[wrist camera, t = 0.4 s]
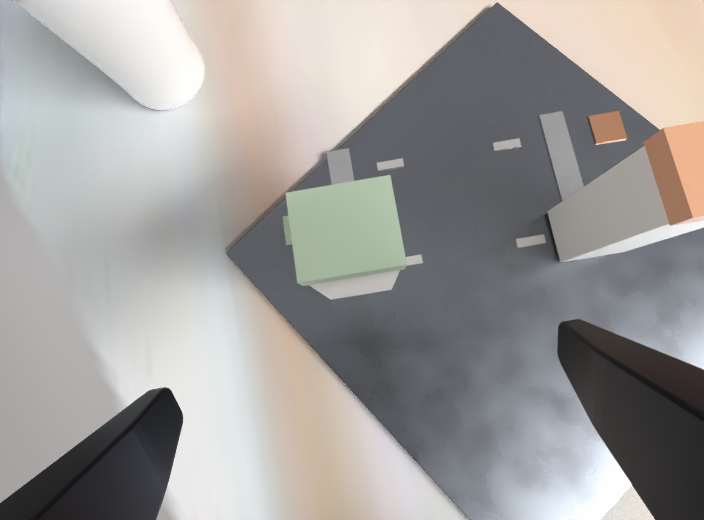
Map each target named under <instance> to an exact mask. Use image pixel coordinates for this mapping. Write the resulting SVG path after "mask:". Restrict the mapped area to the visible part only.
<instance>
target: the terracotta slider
mask: <svg viewBox="0 0 704 520" xmlns="http://www.w3.org/2000/svg"><path fill="white" fill-rule="evenodd" d="M643 143H644V146H643V147H642V148H640V149H639V150H638V151H636V152H635V153H633V154H632V155H630V156H629V157H627V158H626V159H624V160H623V161H621V162H620V163H618V164H617V165H615V166H614V167H612V168H611V169H609V170H608V171H607V172H605V173H604V174H602V175H601V176H599V177H598V178H596V179H595V180H593V181H592V182H590V183H589V184H587V185H586V186H584V187H583V188H581V189H580V190H578V191H577V192H576V193H574V194H573V195H571V196H570V197H568V198H567V199H565V200H564V201H562V202H561V203H559V204H558V205H556V206H555V207H553V208H552V209H550V210H549V211H547V213H548V217H549V221H550V224H551V228H552V232H553V236H554V240H555V244H556V247H557V251H558V255H559V259H560V262H566V261H573V260H579V259H585V258H591V257H597V256H603V255H609V254H616V253H622V252H626V251H629V250H632V249H635V248H639V247H642V246H645V245H648V244H652V243H655V242H658V241H661V240H665V239H668V238H671V237H674V236H678V235H681V234H684V233H688V232H691V231H694V230H697V229H701V228H704V121H702V122H696V123H690V124H685V125H679V126H673V127H667V128H663V129H661V130H660V131H659V132H657V133H656V134H654V135H653V136H651V137H650V138H649V139H647V140H646V141H644V142H643Z"/></svg>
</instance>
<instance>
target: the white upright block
mask: <svg viewBox="0 0 704 520" xmlns="http://www.w3.org/2000/svg"><path fill="white" fill-rule="evenodd" d="M286 201H287V209H288V216H289V224H290V231H291V239H292V246H293V254H294V261H295V269H296V277H297V283H298V284H300V285H302V286H306V285H309V286H311V287H312V288H314V289H315V290H317V291H318V292H320V293H321V294H323V295H324V296H326V297H327V298H329V299H330V300H332V299H339V298H345V297H351V296H357V295H363V294H369V293H375V292H382V291H388V290H392V288H393V285H394V283H395V281H396V278H397V276H398V274H399V272H400V270H404V269H405V268H406V266H407V262H406V257H405V251H404V246H403V240H402V235H401V230H400V224H399V219H398V214H397V208H396V203H395V197H394V192H393V187H392V181H391V176H390V175H386V176H380V177H375V178H369V179H363V180H357V181H351V182H345V183H340V184H334V185H328V186H322V187H316V188H310V189H305V190H299V191H293V192H287V193H286Z"/></svg>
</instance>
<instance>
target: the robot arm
mask: <svg viewBox="0 0 704 520" xmlns="http://www.w3.org/2000/svg"><path fill="white" fill-rule="evenodd" d="M557 354H558V358H559V361H560V364H561V366H562V368H563V369H564V371H565V373H566V375H567V377H568V379H569V381H570V383H571V385H572V387H573V389H574V391H575V392H576V394H577V396H578V398H579V400H580V402H581V404H582V406H583V408H584V410H585V412H586V414H587V416H588V417H589V419H590V421H591V423H592V425H593V426H594V428H595V429H596V431H597V433H598V434H599V436H600V437H601V439H602V440H603V442H604V443H605V445H606V446H607V448H608V449H609V451H610V452H611V454H612V455H613V457H614V458H615V460H616V461H617V463H618V464H619V466H620V467H621V469H622V470H623V472H624V473H625V475H626V476H627V478H628V479H629V481H630V482H631V484H632V485H633V487H634V488H635V490H636V491H637V493H638V495H639V496H640V498H641V499H642V501H643V502H644V504H645V505H646V507H647V508H648V510H649V511H650V513H651V514H652V516H653V517H654V519H655V520H704V369H702V368H699V367H697V366H694V365H692V364H689V363H687V362H684V361H682V360H680V359H677V358H675V357H672V356H670V355H667V354H665V353H662V352H660V351H657V350H655V349H652V348H650V347H648V346H645V345H643V344H640V343H638V342H635V341H633V340H630V339H628V338H625V337H623V336H620V335H618V334H615V333H613V332H611V331H608V330H606V329H603V328H601V327H598V326H596V325H593V324H591V323H588V322H586V321H583V320H581V319H574V320H568V321H563V322H561V323H560V324H559V326H558V344H557ZM182 424H183V414H182V411H181V409H180V407H179V405H178V403H177V401H176V399H175V397H174V395H173V393H172V391H171V390H170V389H169V388H166V387H164V388H158V389H152V390H149V391H148V392H146V393H145V394H144V395H142V396H141V397H140V398H138V399H137V400H136V401H134V402H133V403H132V404H130V405H129V406H128V407H126V408H125V409H124V410H122V411H121V412H120V413H119V414H117V415H116V416H115V417H113V418H112V419H111V420H109V421H108V422H107V423H105V424H104V425H103V426H101V427H100V428H99V429H97V430H96V431H95V432H94V433H92V434H91V435H90V436H88V437H87V438H86V439H84V440H83V441H82V442H80V443H79V444H78V445H76V446H75V447H74V448H72V449H71V450H70V451H69V452H67V453H66V454H64V455H63V456H62V457H61V458H59V459H58V460H57V461H55V462H54V463H53V464H51V465H50V466H49V467H47V468H46V469H45V470H43V471H42V472H41V473H39V474H38V475H37V476H35V477H34V478H33V479H32V480H30V481H29V482H28V483H27V484H25V485H24V486H22V487H21V488H20V489H18V490H17V491H16V492H14V493H13V494H12V495H11V496H9V497H8V498H7V499H5V500H4V501H2V502H1V503H0V520H156V518H157V515H158V512H159V510H160V507H161V504H162V501H163V498H164V495H165V492H166V489H167V485H168V481H169V478H170V474H171V470H172V465H173V461H174V457H175V453H176V449H177V445H178V441H179V436H180V432H181V428H182Z"/></svg>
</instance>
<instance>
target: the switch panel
mask: <svg viewBox="0 0 704 520" xmlns="http://www.w3.org/2000/svg"><path fill="white" fill-rule="evenodd" d="M659 131H660V130H659V129H658V128H657V127H655V126H654V125H653V124H651V123H650V122H649V121H648V120H646V119H645V118H644V117H643V116H641V115H640V114H639V113H637V112H636V111H635V110H634V109H632V108H631V107H630V106H629V105H627V104H626V103H625V102H623V101H622V100H621V99H620V98H618V97H617V96H616V95H615V94H613V93H612V92H611V91H609V90H608V89H607V88H606V87H604V86H603V85H602V84H601V83H599V82H598V81H597V80H595V79H594V78H593V77H592V76H590V75H589V74H588V73H587V72H585V71H584V70H583V69H581V68H580V67H579V66H578V65H576V64H575V63H574V62H573V61H571V60H570V59H569V58H567V57H566V56H565V55H564V54H562V53H561V52H560V51H559V50H557V49H556V48H555V47H553V46H552V45H551V44H550V43H548V42H547V41H546V40H544V39H543V38H542V37H541V36H539V35H538V34H537V33H536V32H534V31H533V30H532V29H530V28H529V27H528V26H527V25H525V24H524V23H523V22H522V21H520V20H519V19H518V18H516V17H515V16H514V15H513V14H511V13H510V12H509V11H508V10H506V9H505V8H504V7H502V6H501V5H500V4H499V3H496V4H495V5H494V6H492V7H491V8H490V9H489V10H488V11H487V12H486V13H485V14H484V15H483V16H482V17H481V18H479V19H478V20H477V21H476V22H475V23H474V24H473V25H472V26H471V27H470V28H469V29H468V30H467V31H465V32H464V33H463V34H462V35H461V36H460V37H459V38H458V39H457V40H456V41H455V42H454V43H452V44H451V45H450V46H449V47H448V48H447V49H446V50H445V51H444V52H443V53H442V54H441V55H440V56H438V57H437V58H436V59H435V60H434V61H433V62H432V63H431V64H430V65H429V66H428V67H427V68H425V69H424V70H423V71H422V72H421V73H420V74H419V75H418V76H417V77H416V78H415V79H414V80H413V81H411V82H410V83H409V84H408V85H407V86H406V87H405V88H404V89H403V90H402V91H401V92H400V93H398V94H397V95H396V96H395V97H394V98H393V99H392V100H391V101H390V102H389V103H388V104H387V105H386V106H384V107H383V108H382V109H381V110H380V111H379V112H378V113H377V114H376V115H375V116H374V117H373V118H371V119H370V120H369V121H368V122H367V123H366V124H365V125H364V126H363V127H362V128H361V129H360V130H359V131H357V132H356V133H355V134H354V135H353V136H352V137H351V138H350V139H349V140H348V141H347V142H346V143H344V144H343V145H342V146H341V147H340V148H339V149H338V150H335V151H329V152H327V160H326V161H325V162H324V163H323V164H322V165H321V166H320V167H319V168H317V169H316V170H315V171H314V172H313V173H312V174H311V175H310V176H309V177H308V178H307V179H306V180H305V181H303V182H302V183H301V184H300V185H299V186H298V187H297V188H296V189H295V190H294V191H299V190H305V189H310V188H316V187H322V186H328V185H334V184H340V183H345V182H351V181H357V180H363V179H369V178H375V177H380V176H386V175H390V176H391V181H392V187H393V192H394V197H395V203H396V208H397V214H398V219H399V224H400V230H401V235H402V240H403V246H404V251H405V257H406V262H407V266H406V268H405V269H404V270H400V272H399V274H398V276H397V278H396V281H395V283H394V285H393V288H392V290H388V291H382V292H375V293H369V294H363V295H357V296H351V297H345V298H339V299H332V300H330V299H329V298H327V297H326V296H324V295H323V294H321V293H320V292H318V291H317V290H315V289H314V288H312V287H311V286H309V285H306V286H302V285H300V284H298V283H297V277H296V269H295V261H294V254H293V246H292V239H291V231H290V224H289V216H288V209H287V201H286V198H285V199H284V200H283V201H282V202H281V203H280V204H279V205H278V206H276V207H275V208H274V209H273V210H272V211H271V212H270V213H269V214H268V215H267V216H266V217H265V218H263V219H262V220H261V221H260V222H259V223H258V224H257V225H256V226H255V227H254V228H253V229H252V230H251V231H249V232H248V233H247V234H246V235H245V236H244V237H243V238H242V239H241V240H240V241H239V242H238V243H236V244H235V245H234V246H233V247H232V248H231V249H230V250H229V251H228V252H227V253H226V254H227V255H228V256H229V257H230V258H231V259H232V260H233V261H234V262H235V264H236V265H237V266H238V267H239V268H240V269H241V270H242V271H243V272H244V273H245V274H246V276H247V277H248V278H249V279H250V280H251V281H252V282H253V283H254V284H255V285H256V287H257V288H258V289H259V290H260V291H261V292H262V293H263V294H264V295H265V296H266V297H267V299H268V300H269V301H270V302H271V303H272V304H273V305H274V306H275V307H276V308H277V309H278V311H279V312H280V313H281V314H282V315H283V316H284V317H285V318H286V319H287V320H288V321H289V323H290V324H291V325H292V326H293V327H294V328H295V329H296V330H297V331H298V332H299V333H300V335H301V336H302V337H303V338H304V339H305V340H306V341H307V342H308V343H309V344H310V346H311V347H312V348H313V349H314V350H315V351H316V352H317V353H318V354H319V355H320V356H321V358H322V359H323V360H324V361H325V362H326V363H327V364H328V365H329V366H330V367H331V368H332V370H333V371H334V372H335V373H336V374H337V375H338V376H339V377H340V378H341V379H342V380H343V382H344V383H345V384H346V385H347V386H348V387H349V388H350V389H351V390H352V391H353V393H354V394H355V395H356V396H357V397H358V398H359V399H360V400H361V401H362V402H363V403H364V405H365V406H366V407H367V408H368V409H369V410H370V411H371V412H372V413H373V414H374V415H375V417H376V418H377V419H378V420H379V421H380V422H381V423H382V424H383V425H384V426H385V427H386V429H387V430H388V431H389V432H390V433H391V434H392V435H393V436H394V437H395V438H396V439H397V441H398V442H399V443H400V444H401V445H402V446H403V447H404V448H405V449H406V450H407V452H408V453H409V454H410V455H411V456H412V457H413V458H414V459H415V460H416V461H417V462H418V464H419V465H420V466H421V467H422V468H423V469H424V470H425V471H426V472H427V473H428V474H429V476H430V477H431V478H432V479H433V480H434V481H435V482H436V483H437V484H438V485H439V486H440V488H441V489H442V490H443V491H444V492H445V493H446V494H447V495H448V496H449V497H450V499H451V500H452V501H453V502H454V503H455V504H456V505H457V506H458V507H459V508H460V509H461V511H462V512H463V513H464V514H465V515H466V516H467V517H468V518H469V519H470V520H601V519H602V518H603V517H604V515H605V514H606V513H607V512H608V511H609V510H610V509H611V508H612V507H613V505H614V504H615V503H616V502H617V501H618V500H619V499H620V498H621V497H622V495H623V494H624V493H625V492H626V491H627V490H628V489H629V488H630V486H631V485H632V484H631V482H630V481H629V479H628V478H627V476H626V475H625V473H624V472H623V470H622V469H621V467H620V466H619V464H618V463H617V461H616V460H615V458H614V457H613V455H612V454H611V452H610V451H609V449H608V448H607V446H606V445H605V443H604V442H603V440H602V439H601V437H600V436H599V434H598V433H597V431H596V429H595V428H594V426H593V425H592V423H591V421H590V419H589V417H588V416H587V414H586V412H585V410H584V408H583V406H582V404H581V402H580V400H579V398H578V396H577V394H576V392H575V391H574V389H573V387H572V385H571V383H570V381H569V379H568V377H567V375H566V373H565V371H564V369H563V368H562V366H561V364H560V361H559V358H558V354H557V344H558V326H559V324H560V323H561V322H563V321H568V320H574V319H581V320H583V321H586V322H588V323H591V324H593V325H596V326H598V327H601V328H603V329H606V330H608V331H611V332H613V333H615V334H618V335H620V336H623V337H625V338H628V339H630V340H633V341H635V342H638V343H640V344H643V345H645V346H648V347H650V348H652V349H655V350H657V351H660V352H662V353H665V354H667V355H670V356H672V357H675V358H677V359H680V360H682V361H684V362H687V363H689V364H692V365H694V366H697V367H699V368H702V369H704V228H701V229H697V230H694V231H691V232H688V233H684V234H681V235H678V236H674V237H671V238H668V239H665V240H661V241H658V242H655V243H652V244H648V245H645V246H642V247H639V248H635V249H632V250H629V251H626V252H622V253H616V254H609V255H603V256H597V257H591V258H585V259H579V260H573V261H566V262H560V259H559V255H558V251H557V247H556V244H555V240H554V236H553V232H552V228H551V224H550V221H549V217H548V213H547V211H549V210H550V209H552V208H553V207H555V206H556V205H558V204H559V203H561V202H562V201H564V200H565V199H567V198H568V197H570V196H571V195H573V194H574V193H576V192H577V191H578V190H580V189H581V188H583V187H584V186H586V185H587V184H589V183H590V182H592V181H593V180H595V179H596V178H598V177H599V176H601V175H602V174H604V173H605V172H607V171H608V170H609V169H611V168H612V167H614V166H615V165H617V164H618V163H620V162H621V161H623V160H624V159H626V158H627V157H629V156H630V155H632V154H633V153H635V152H636V151H638V150H639V149H640V148H642V147H643V146H644V143H643V142H644V141H646V140H647V139H649V138H650V137H651V136H653V135H654V134H656V133H657V132H659Z"/></svg>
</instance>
